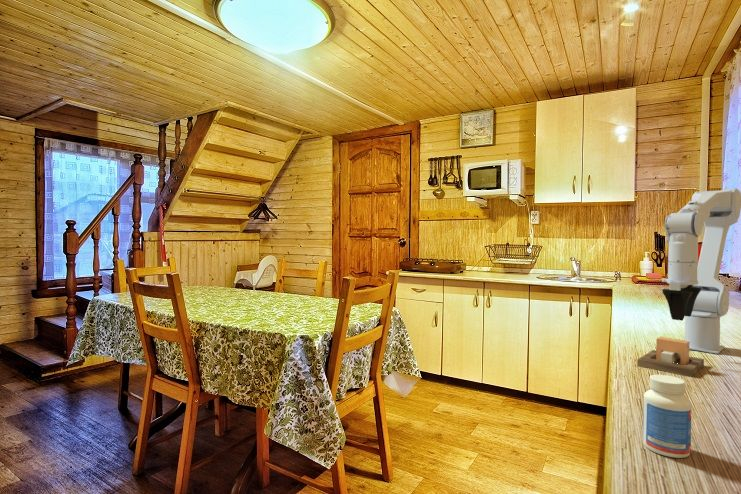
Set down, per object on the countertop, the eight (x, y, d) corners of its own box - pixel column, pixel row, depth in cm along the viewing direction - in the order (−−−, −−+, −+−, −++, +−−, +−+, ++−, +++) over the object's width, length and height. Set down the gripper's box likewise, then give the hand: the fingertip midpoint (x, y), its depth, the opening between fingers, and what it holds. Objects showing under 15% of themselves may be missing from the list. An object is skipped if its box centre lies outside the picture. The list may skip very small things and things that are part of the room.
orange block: (659, 359, 98) (660, 336, 98) (689, 365, 94) (689, 341, 94) (656, 362, 96) (656, 338, 96) (685, 368, 92) (686, 343, 92)
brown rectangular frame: (652, 356, 103) (653, 342, 103) (703, 365, 95) (704, 350, 95) (637, 365, 95) (637, 350, 95) (691, 376, 87) (692, 360, 87)
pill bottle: (699, 461, 54) (701, 387, 54) (653, 457, 55) (655, 384, 55) (677, 441, 60) (679, 374, 59) (636, 437, 61) (637, 371, 60)
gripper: (670, 260, 108) (669, 312, 109) (654, 262, 99) (653, 319, 99) (704, 261, 103) (703, 315, 103) (691, 263, 93) (690, 323, 94)
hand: (681, 317), depth 101 cm, fingers open, 7 cm apart
